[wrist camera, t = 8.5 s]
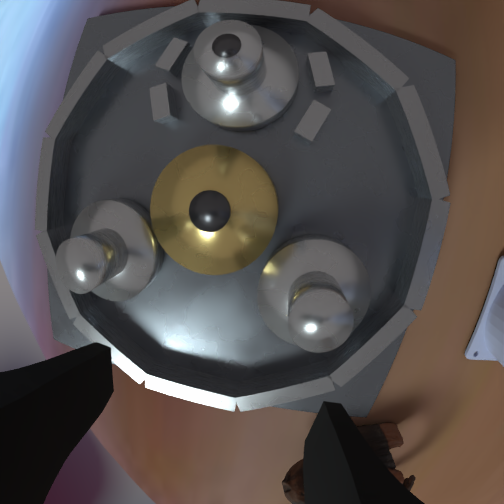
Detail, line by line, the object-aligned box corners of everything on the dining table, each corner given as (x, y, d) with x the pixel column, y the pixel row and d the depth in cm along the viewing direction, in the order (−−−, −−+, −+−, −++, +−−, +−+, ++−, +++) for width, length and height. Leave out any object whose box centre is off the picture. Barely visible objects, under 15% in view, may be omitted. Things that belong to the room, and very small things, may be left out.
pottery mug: (426, 413, 20) (440, 498, 14) (363, 443, 26) (370, 511, 20) (304, 421, 17) (309, 536, 11) (256, 446, 24) (256, 527, 18)
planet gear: (311, 51, 14) (319, 9, 9) (277, 145, 15) (273, 130, 11) (211, 27, 14) (188, -14, 10) (175, 115, 16) (137, 95, 11)
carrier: (448, 64, 14) (493, 35, 8) (364, 408, 20) (378, 463, 14) (94, 23, 15) (50, -6, 10) (60, 333, 21) (18, 365, 16)
